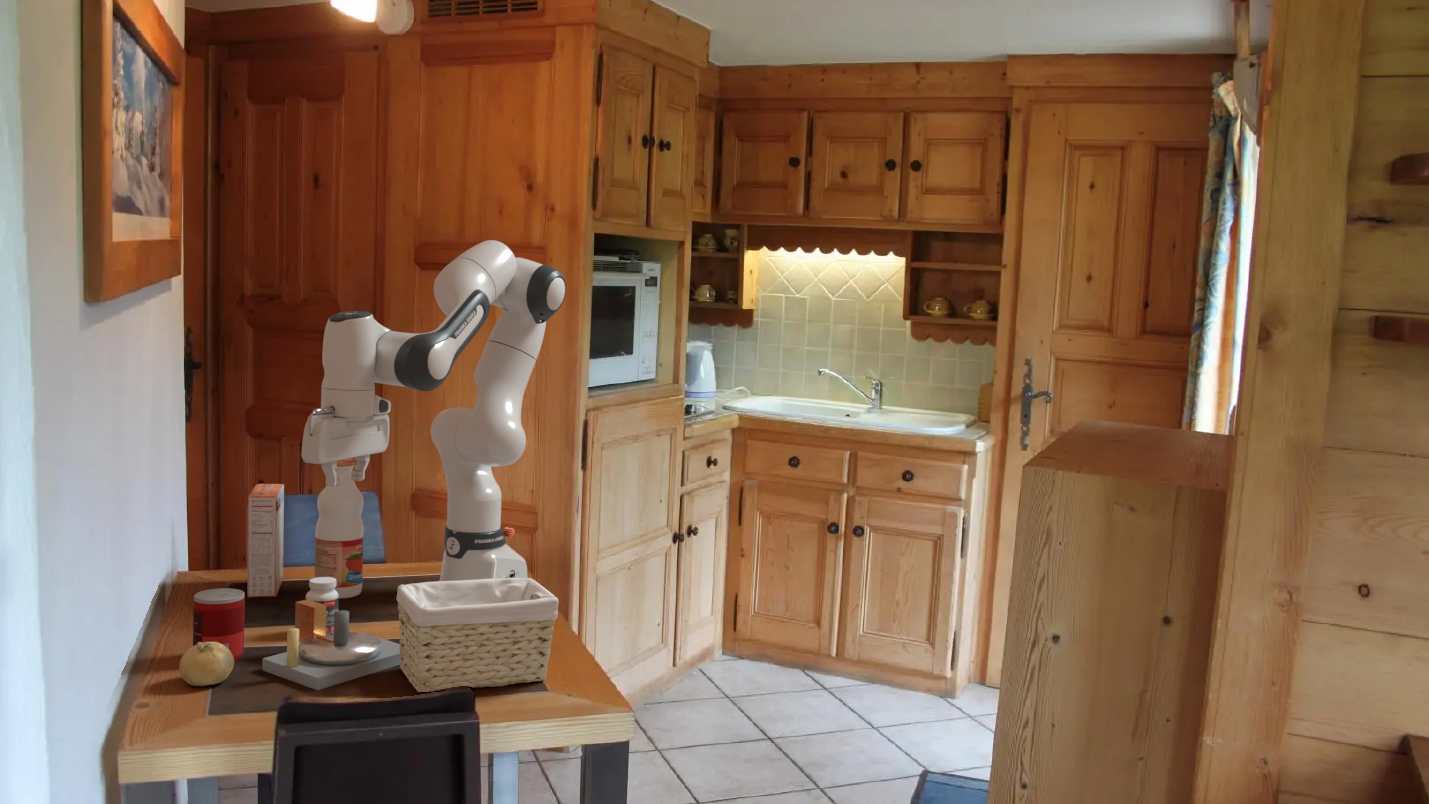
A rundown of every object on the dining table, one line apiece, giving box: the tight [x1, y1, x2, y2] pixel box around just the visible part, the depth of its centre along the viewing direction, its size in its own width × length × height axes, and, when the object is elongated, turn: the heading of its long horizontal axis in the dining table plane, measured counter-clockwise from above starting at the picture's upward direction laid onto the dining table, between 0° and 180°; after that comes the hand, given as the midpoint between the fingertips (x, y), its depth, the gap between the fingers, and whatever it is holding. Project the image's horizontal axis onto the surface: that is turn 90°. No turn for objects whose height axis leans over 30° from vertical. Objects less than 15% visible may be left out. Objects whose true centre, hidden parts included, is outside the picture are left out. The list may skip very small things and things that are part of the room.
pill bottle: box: [305, 577, 340, 633], centre depth 206 cm, size 6×6×10 cm
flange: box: [294, 599, 381, 665], centre depth 190 cm, size 13×17×7 cm
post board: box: [261, 609, 400, 691], centre depth 189 cm, size 20×14×9 cm
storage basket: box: [395, 577, 560, 693], centre depth 188 cm, size 24×16×15 cm
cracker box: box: [246, 483, 285, 599], centre depth 232 cm, size 14×6×21 cm, turn 15°
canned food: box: [192, 587, 246, 662], centre depth 189 cm, size 8×8×11 cm
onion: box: [178, 642, 235, 687], centre depth 178 cm, size 8×8×7 cm
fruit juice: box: [313, 458, 365, 600], centre depth 231 cm, size 9×9×28 cm
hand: (345, 483), depth 197 cm, fingers open, 6 cm apart
